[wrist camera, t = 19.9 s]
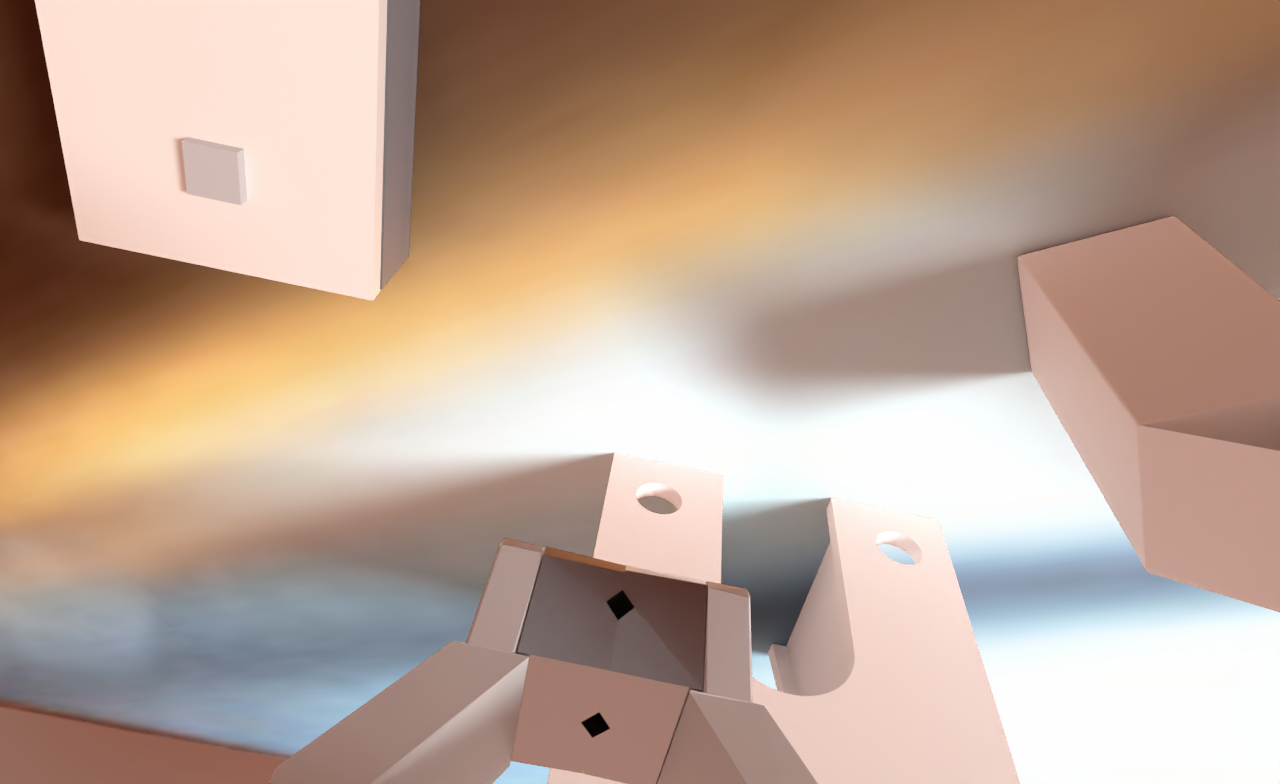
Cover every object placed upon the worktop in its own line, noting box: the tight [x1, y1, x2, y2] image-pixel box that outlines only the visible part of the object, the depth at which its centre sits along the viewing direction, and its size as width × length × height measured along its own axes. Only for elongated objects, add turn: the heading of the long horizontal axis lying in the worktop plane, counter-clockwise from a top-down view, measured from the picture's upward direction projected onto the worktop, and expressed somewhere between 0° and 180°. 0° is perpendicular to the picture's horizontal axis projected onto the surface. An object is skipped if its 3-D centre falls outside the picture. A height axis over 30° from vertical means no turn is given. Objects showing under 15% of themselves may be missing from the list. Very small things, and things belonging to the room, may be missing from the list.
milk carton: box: [1018, 216, 1280, 612], centre depth 34 cm, size 7×7×19 cm
